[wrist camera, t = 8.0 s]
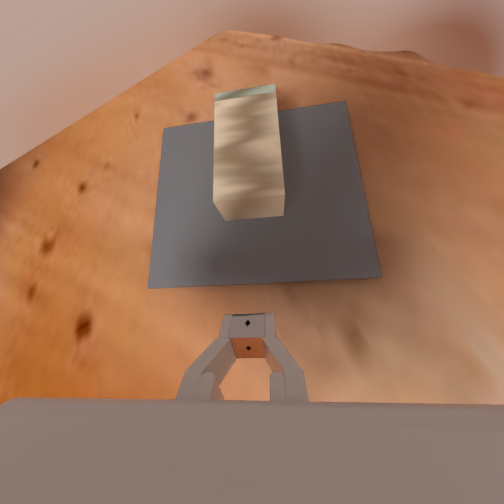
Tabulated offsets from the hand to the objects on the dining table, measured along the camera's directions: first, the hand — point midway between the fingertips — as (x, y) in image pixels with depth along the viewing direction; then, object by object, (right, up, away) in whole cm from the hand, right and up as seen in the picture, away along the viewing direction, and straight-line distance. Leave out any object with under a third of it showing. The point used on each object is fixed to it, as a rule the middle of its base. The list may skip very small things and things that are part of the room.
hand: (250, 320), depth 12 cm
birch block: (0, +8, +6) cm, 10 cm away
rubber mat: (0, +11, +10) cm, 14 cm away
